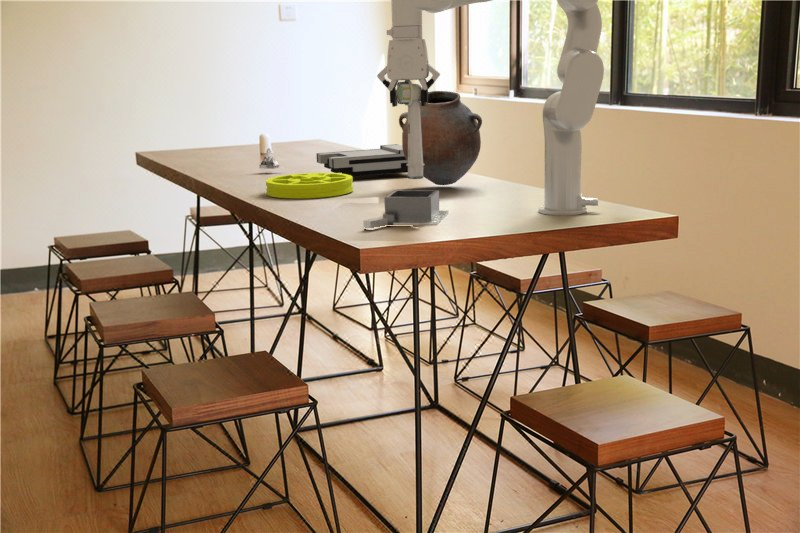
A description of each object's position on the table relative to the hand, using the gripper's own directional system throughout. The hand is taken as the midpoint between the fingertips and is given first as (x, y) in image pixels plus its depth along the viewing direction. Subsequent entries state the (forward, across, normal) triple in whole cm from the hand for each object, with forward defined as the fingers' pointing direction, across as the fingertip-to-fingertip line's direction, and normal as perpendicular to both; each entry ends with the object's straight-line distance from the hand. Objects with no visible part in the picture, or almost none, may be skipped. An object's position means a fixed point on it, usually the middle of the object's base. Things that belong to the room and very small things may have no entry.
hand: (409, 105), depth 241 cm
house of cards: (+30, -77, +112) cm, 139 cm away
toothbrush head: (+19, 0, 0) cm, 19 cm away
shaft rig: (+30, 0, 0) cm, 30 cm away
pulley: (+30, -44, +51) cm, 74 cm away
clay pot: (+30, -3, +62) cm, 69 cm away
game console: (+30, -36, +97) cm, 108 cm away
